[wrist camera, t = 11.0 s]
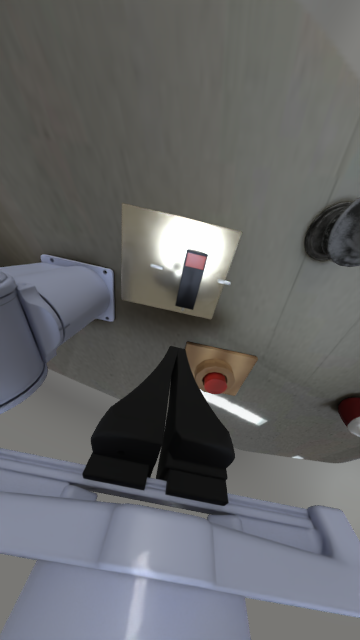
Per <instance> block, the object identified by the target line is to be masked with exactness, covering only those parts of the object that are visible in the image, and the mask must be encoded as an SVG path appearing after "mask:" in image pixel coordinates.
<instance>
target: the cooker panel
mask: <svg viewBox="0 0 360 640" xmlns="http://www.w3.org/2000/svg"><path fill="white" fill-rule="evenodd" d="M241 235H242V231H238V230H233V229H229V228H225V227H221V226H217V225H212V224H208V223H204V222H200V221H196V220H191V219H187V218H183V217H179V216H175V215H170V214H166V213H162V212H158V211H154V210H149V209H145V208H141V207H137V206H133V205H129V204H124V203H122V257H121V300H125V301H130V302H134V303H139V304H143V305H148V306H152V307H157V308H161V309H166V310H170V311H175V312H179V313H184V314H189V315H193V316H198V317H202V318H207V319H212V317H213V314H214V311H215V308H216V306H217V303H218V300H219V297H220V294H221V291H222V289H223V286H224V284H227V285H230V283H231V282H229V281H225V280H226V277H227V275H228V272H229V269H230V266H231V263H232V261H233V258H234V255H235V252H236V249H237V246H238V244H239V241H240V238H241ZM187 249H193V250H197V251H201V252H205V253H207V254H208V259H207V262H206V266H205V269H204V273H203V277H202V280H201V284H200V287H199V291H198V295H197V298H196V302H195V305H194V309H193V310H191V309H187V308H182V307H178V306H175V304H176V299H177V294H178V290H179V285H180V280H181V275H182V270H183V265H184V261H185V256H186V251H187Z"/></svg>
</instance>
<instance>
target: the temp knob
mask: <svg viewBox="0 0 360 640" xmlns="http://www.w3.org/2000/svg"><path fill="white" fill-rule="evenodd" d="M207 259H208V254H207V253H205V252H201V251H197V250H193V249H187V251H186V256H185V261H184V265H183V270H182V275H181V280H180V285H179V290H178V294H177V299H176V304H175V306H178V307H182V308H187V309H191V310H193V309H194V305H195V302H196V298H197V295H198V291H199V287H200V284H201V280H202V277H203V273H204V269H205V266H206V262H207Z"/></svg>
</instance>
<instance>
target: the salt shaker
mask: <svg viewBox="0 0 360 640" xmlns="http://www.w3.org/2000/svg"><path fill="white" fill-rule="evenodd" d="M305 248H306V251H307V253H308V254H309V256H310V257H312V258H314V259H318V260H327V259H332V260H333V262H335V263H336V264H338V265H340V266H347V267H353V266H360V198H358V199H357V200H355V201H354V202H353V203H350V202H345V203H339V204H336V205H334V206H332V207H330V208H328V209H327V210H325V211H324V212H322V213H321V214H320V215H319V216H318V217H317V218H316V219H315V220H314V222H313V223H312V225H311V226H310V228H309V230H308V232H307V235H306V239H305Z"/></svg>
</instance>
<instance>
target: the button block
mask: <svg viewBox="0 0 360 640" xmlns="http://www.w3.org/2000/svg"><path fill="white" fill-rule="evenodd" d="M185 350H186V354H187V358H188V362H189V365H190V368H191V371H192V373H193V376H194V378H195V381H196V383H197V385H198V387H199V389H201V390H202V391H204V392H207V391H206V390H205V388H204V376H205V375H206V374H208V373H211V372H218V373H222V374H223V375H224V376H225V379H226V383H227V389H226V390H225V391H224V392H223V394H228V395H233V396H235V395H236V393H237V392H238V390H239V389H240V387H241V385H242V384H243V382H244V381H245V379H246V377H247V376H248V374H249V373H250V371H251V370H252V368H253V366H254V365H255V363H256V362H257V360H258V358H257V357H256V356H252V355H247V354H243V353H238V352H233V351H229V350H224V349H220V348H215V347H210V346H206V345H201V344H196V343H192V342H187V343H186V347H185ZM208 393H209V392H208Z"/></svg>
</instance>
